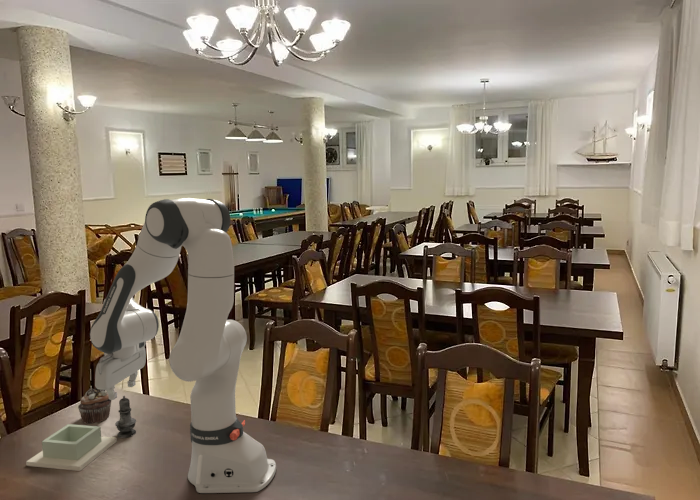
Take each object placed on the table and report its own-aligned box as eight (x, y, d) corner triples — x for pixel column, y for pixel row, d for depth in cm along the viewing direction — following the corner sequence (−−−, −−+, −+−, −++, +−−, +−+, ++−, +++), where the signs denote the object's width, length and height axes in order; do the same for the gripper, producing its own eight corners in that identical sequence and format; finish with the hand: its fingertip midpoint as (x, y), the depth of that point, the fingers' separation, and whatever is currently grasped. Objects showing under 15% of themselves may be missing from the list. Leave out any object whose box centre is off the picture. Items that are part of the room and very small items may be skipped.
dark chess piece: (129, 439, 158) (126, 400, 156) (111, 437, 159) (108, 398, 157) (141, 429, 163) (138, 392, 162) (123, 428, 165) (121, 391, 163)
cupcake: (101, 409, 178) (99, 380, 177) (118, 416, 173) (116, 386, 171) (73, 419, 171) (70, 389, 169) (89, 427, 165) (86, 396, 164)
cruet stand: (116, 441, 156) (115, 423, 155) (79, 470, 141) (78, 450, 140) (67, 437, 159) (66, 419, 158) (26, 465, 143) (24, 445, 143)
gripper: (108, 360, 147) (110, 408, 149) (148, 338, 167) (150, 380, 169) (87, 358, 148) (90, 406, 150) (130, 336, 168) (132, 378, 170)
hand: (122, 392), depth 160 cm, fingers open, 8 cm apart
